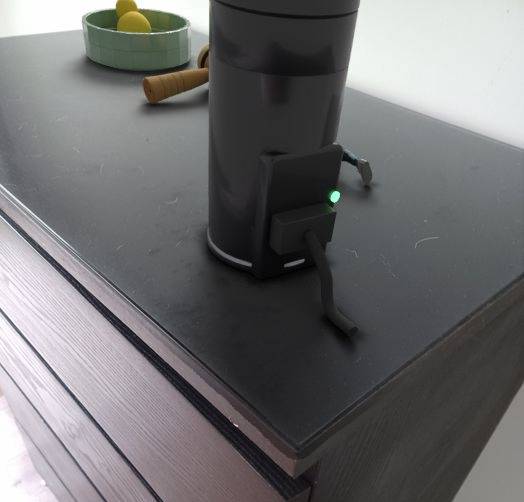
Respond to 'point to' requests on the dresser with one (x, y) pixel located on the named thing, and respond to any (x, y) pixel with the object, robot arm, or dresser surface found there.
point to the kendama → (177, 80)
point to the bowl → (137, 41)
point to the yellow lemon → (131, 18)
